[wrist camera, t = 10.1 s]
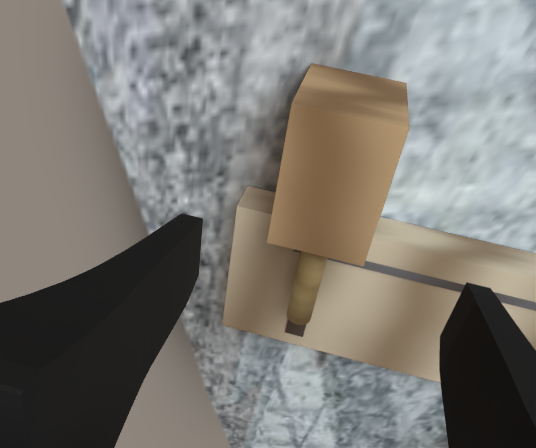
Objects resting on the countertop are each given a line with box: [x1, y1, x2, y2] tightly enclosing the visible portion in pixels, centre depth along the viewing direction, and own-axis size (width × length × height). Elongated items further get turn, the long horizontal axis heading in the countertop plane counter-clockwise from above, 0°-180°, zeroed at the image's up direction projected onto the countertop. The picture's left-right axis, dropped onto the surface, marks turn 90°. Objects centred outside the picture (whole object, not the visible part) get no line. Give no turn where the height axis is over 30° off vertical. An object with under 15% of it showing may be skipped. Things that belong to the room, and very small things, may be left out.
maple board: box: [222, 186, 536, 383], centre depth 25 cm, size 20×8×2 cm, turn 82°
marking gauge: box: [267, 63, 409, 325], centre depth 22 cm, size 4×11×5 cm, turn 172°
